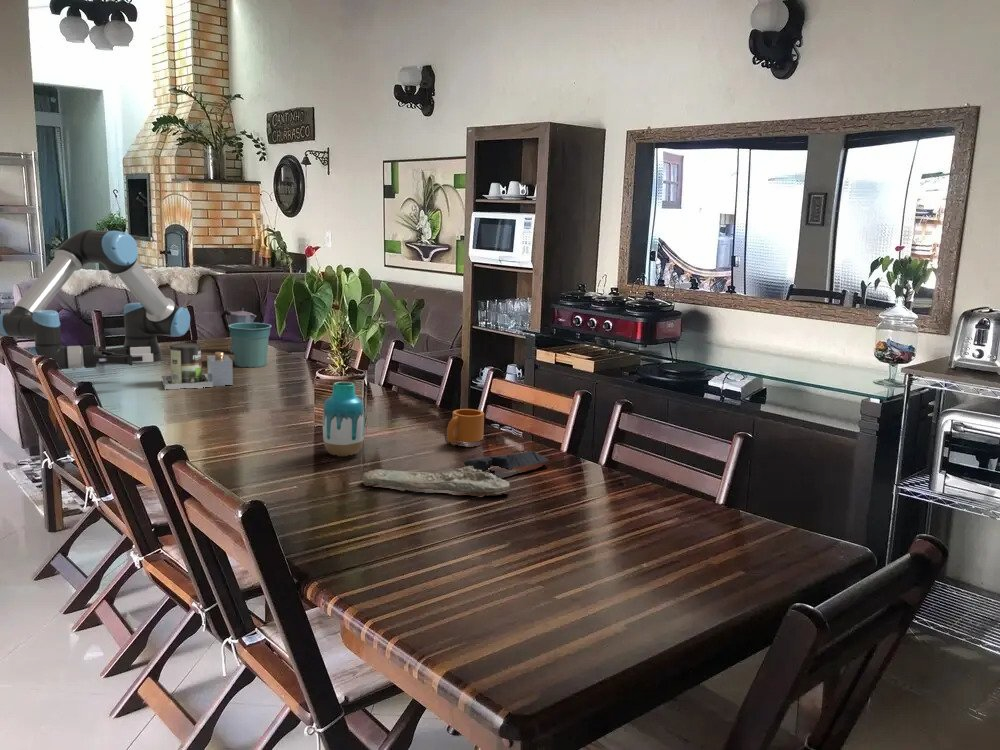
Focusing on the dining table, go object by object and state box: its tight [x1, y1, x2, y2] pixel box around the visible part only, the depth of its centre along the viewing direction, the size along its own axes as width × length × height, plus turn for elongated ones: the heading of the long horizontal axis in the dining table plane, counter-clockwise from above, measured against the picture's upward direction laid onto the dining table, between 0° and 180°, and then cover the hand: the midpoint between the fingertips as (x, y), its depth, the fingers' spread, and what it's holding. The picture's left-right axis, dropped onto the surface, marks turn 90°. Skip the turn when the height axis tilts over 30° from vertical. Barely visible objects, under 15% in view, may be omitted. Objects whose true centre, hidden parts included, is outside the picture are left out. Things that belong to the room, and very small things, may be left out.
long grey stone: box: [361, 466, 511, 492], centre depth 189 cm, size 35×5×10 cm
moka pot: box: [221, 306, 257, 355], centre depth 348 cm, size 10×15×20 cm, turn 89°
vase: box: [322, 381, 365, 457], centre depth 210 cm, size 11×11×19 cm
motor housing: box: [161, 351, 234, 391], centre depth 286 cm, size 15×22×11 cm
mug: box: [446, 408, 485, 442], centre depth 226 cm, size 9×12×9 cm
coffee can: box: [169, 342, 203, 383], centre depth 285 cm, size 10×10×14 cm
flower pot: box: [228, 322, 272, 369], centre depth 323 cm, size 16×16×16 cm
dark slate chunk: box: [464, 450, 549, 472], centre depth 207 cm, size 15×22×5 cm
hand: (152, 354), depth 279 cm, fingers open, 13 cm apart
